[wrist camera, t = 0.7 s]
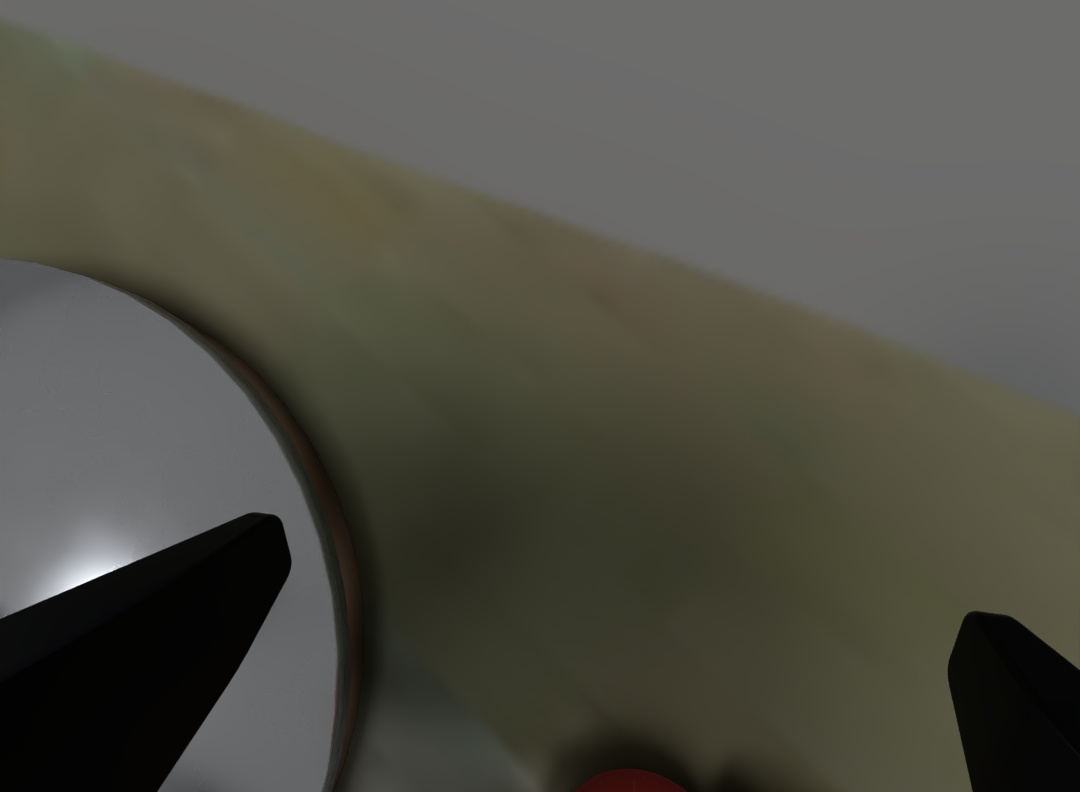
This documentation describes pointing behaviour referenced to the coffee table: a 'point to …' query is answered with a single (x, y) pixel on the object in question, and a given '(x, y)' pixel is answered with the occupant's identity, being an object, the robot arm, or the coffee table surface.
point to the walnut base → (338, 532)
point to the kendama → (629, 782)
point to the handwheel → (166, 506)
